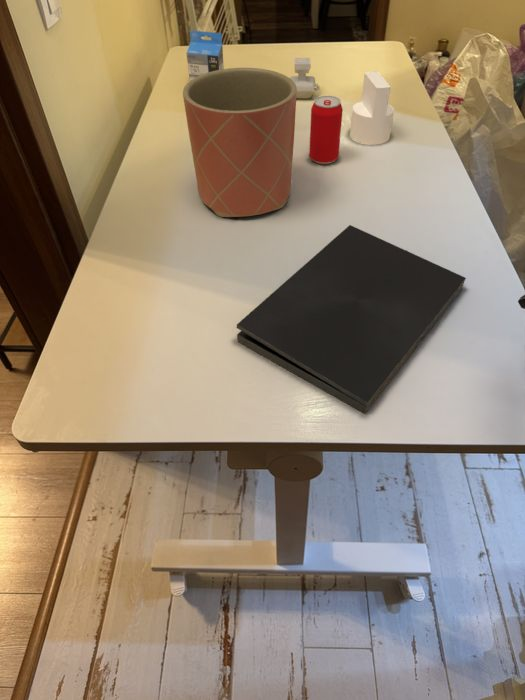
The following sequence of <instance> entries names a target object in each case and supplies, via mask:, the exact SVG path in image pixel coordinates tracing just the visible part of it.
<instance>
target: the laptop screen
mask: <svg viewBox="0 0 525 700" xmlns="http://www.w3.org/2000/svg"><path fill="white" fill-rule="evenodd" d="M466 279H467V277H465V276H463V275H461V274H458V273H456V272H455V271H452V270H449V269H447V268H446V267H443V266H441V265H439V264H437V263H434V262H432V261H430V260H428V259H426V258H423V257H422V256H419V255H417V254H414V253H412V252H410V251H408V250H406V249H404V248H402V247H399V246H397V245H395V244H392V243H391V242H388V241H386V240H384V239H381V238H380V237H377V236H375V235H373V234H372V233H369V232H367V231H364V230H362V229H360V228H358V227H356V226H353V225H351V224H349V225H348V226H347V227H346V228H344V229H343V230H342V231H341V232H340V233H339V234H338V235H337V236H336V237H334V238H333V239H332V240H331V241H330V242H328V243H327V244H326V245H325V246H324V247H323V248H321V250H319V252H317V253H316V254H315V255H313V257H312V258H311V259H309V260H308V261H307V262H306V263H305V264H304V265H302V266H301V267H300V268H299V269H298V270H297V271H296V272H295V273H294V274H292V275H291V276H290V277H289V278H288V279H287V280H285V281H284V282H283V283H282V284H281V285H280V286H279V287H278V288H276V290H274V291H273V292H272V293H271V294H269V295H268V296H267V297H266V298H264V300H263V301H262V302H261V303H259V304H258V305H257V306H256V307H255V308H254V309H252V310H251V311H250V312H249V313H248V314H246V316H244V317H243V318H242V319H241V320H240V321H239V322H238V323H237V324H236V329H237V330H239V331H240V332H241V331H243V332H244V333H246V334H248V335H249V336H251V337H253V338H254V339H256V340H257V341H259V342H261V343H262V344H264V345H266V346H267V347H269V348H271V349H272V350H274V351H276V352H277V353H279V354H281V355H282V356H284V357H286V358H287V359H289V360H291V361H292V362H294V363H295V364H297V365H299V366H300V367H302V368H304V369H305V370H307V371H309V372H310V373H312V374H314V375H315V376H317V377H319V378H320V379H322V380H324V381H325V382H327V383H329V384H330V385H332V386H333V387H335V388H337V389H338V390H340V391H342V392H343V393H345V394H347V395H348V396H350V397H352V398H353V399H355V400H357V401H358V402H360V403H362V404H363V405H365V406H367V405H368V403H369V402H370V401H371V400H372V398H373V397H374V396H375V395H376V393H377V392H378V391H379V389H380V388H381V387H382V386H383V384H384V383H385V382H386V381H387V379H388V378H389V377H390V375H391V374H392V373H393V372H394V370H395V369H396V368H397V367H398V365H399V364H400V363H401V361H402V360H403V359H404V358H405V356H406V355H407V354H408V353H409V351H410V350H411V349H412V348H413V346H414V345H415V344H416V342H417V341H418V340H419V339H420V337H421V336H422V335H423V334H424V332H425V331H426V330H427V328H428V327H429V326H430V325H431V323H432V322H433V321H434V320H435V318H436V317H437V316H438V314H439V313H440V312H441V311H442V309H443V308H444V307H445V306H446V304H447V303H448V302H449V300H450V299H451V298H452V297H453V295H454V294H455V293H456V292H457V290H458V289H459V288H460V287H461V285H462V284H463V283H464V284H465V281H466ZM464 284H463V285H464Z"/></svg>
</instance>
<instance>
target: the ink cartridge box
mask: <svg viewBox="0 0 525 700" xmlns="http://www.w3.org/2000/svg"><path fill="white" fill-rule="evenodd" d="M189 33H190V34H189V35H190V42H189V44H188V48H187V51H186V60H187V61H186V63H187V70H188V79H189V82H190V81H191V80H192V79H194V78H196V77H198V76H200V75H203V74H205V73H208V72H212V71H216V70H222V69H225V68H224V67H225V66H224V65H225V63H224V48H223V34H222V32H213V31H204V30H203V31H201V30H189ZM205 36H206V37H207V38H210V39H205ZM203 38H204V39H203Z"/></svg>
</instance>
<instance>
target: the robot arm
mask: <svg viewBox="0 0 525 700" xmlns="http://www.w3.org/2000/svg"><path fill="white" fill-rule="evenodd" d="M517 303H518V305H519V306H520V308H521V309H523V310H525V294H523V295H521V296H520V297H519V299H518V301H517Z"/></svg>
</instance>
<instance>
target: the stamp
mask: <svg viewBox="0 0 525 700" xmlns="http://www.w3.org/2000/svg"><path fill="white" fill-rule="evenodd" d="M310 70H311V57H294V73H295V74H297V75H291V76H290V77H289V78H290V79H291V80H292V81H293V82H294V83H295V85H296V88H297V95H296V99H310V98H311V97H312V95H313V94H314V93H315V92H316V91H318V90H320V85H319V84H318V83H316V77H315V76H313V75H307V74H309V73H310Z"/></svg>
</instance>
